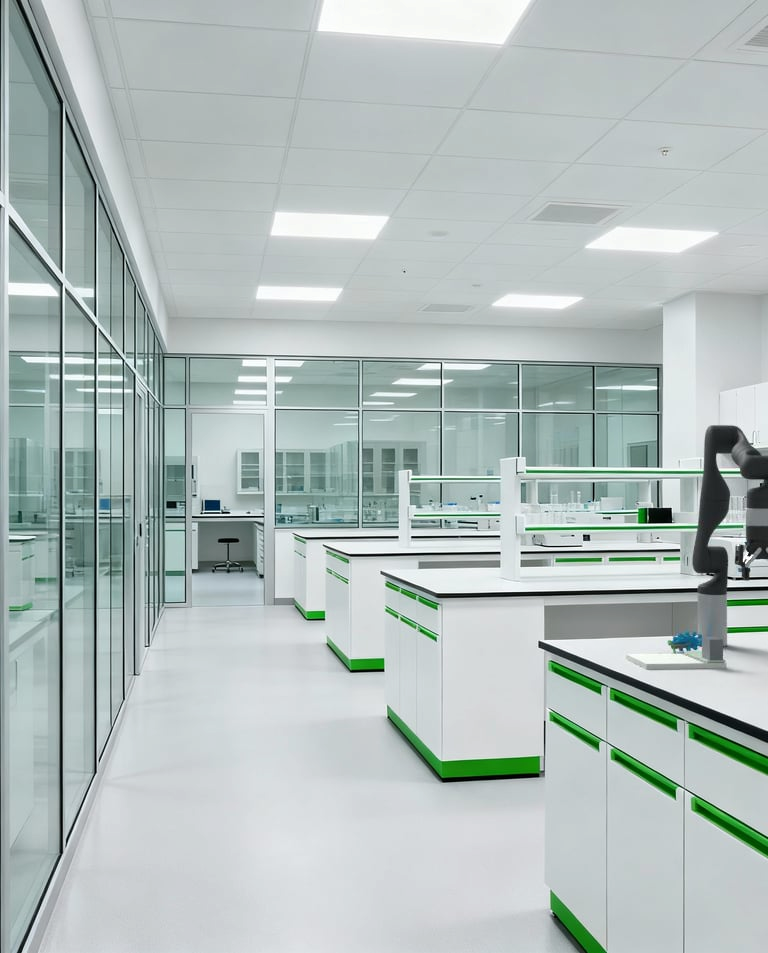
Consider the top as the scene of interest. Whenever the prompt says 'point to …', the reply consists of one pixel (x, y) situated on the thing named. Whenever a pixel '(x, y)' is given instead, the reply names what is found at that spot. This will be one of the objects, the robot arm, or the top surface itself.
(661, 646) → the top surface
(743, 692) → the top surface
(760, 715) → the top surface
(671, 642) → the gear
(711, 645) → the stub
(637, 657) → the ticket board
